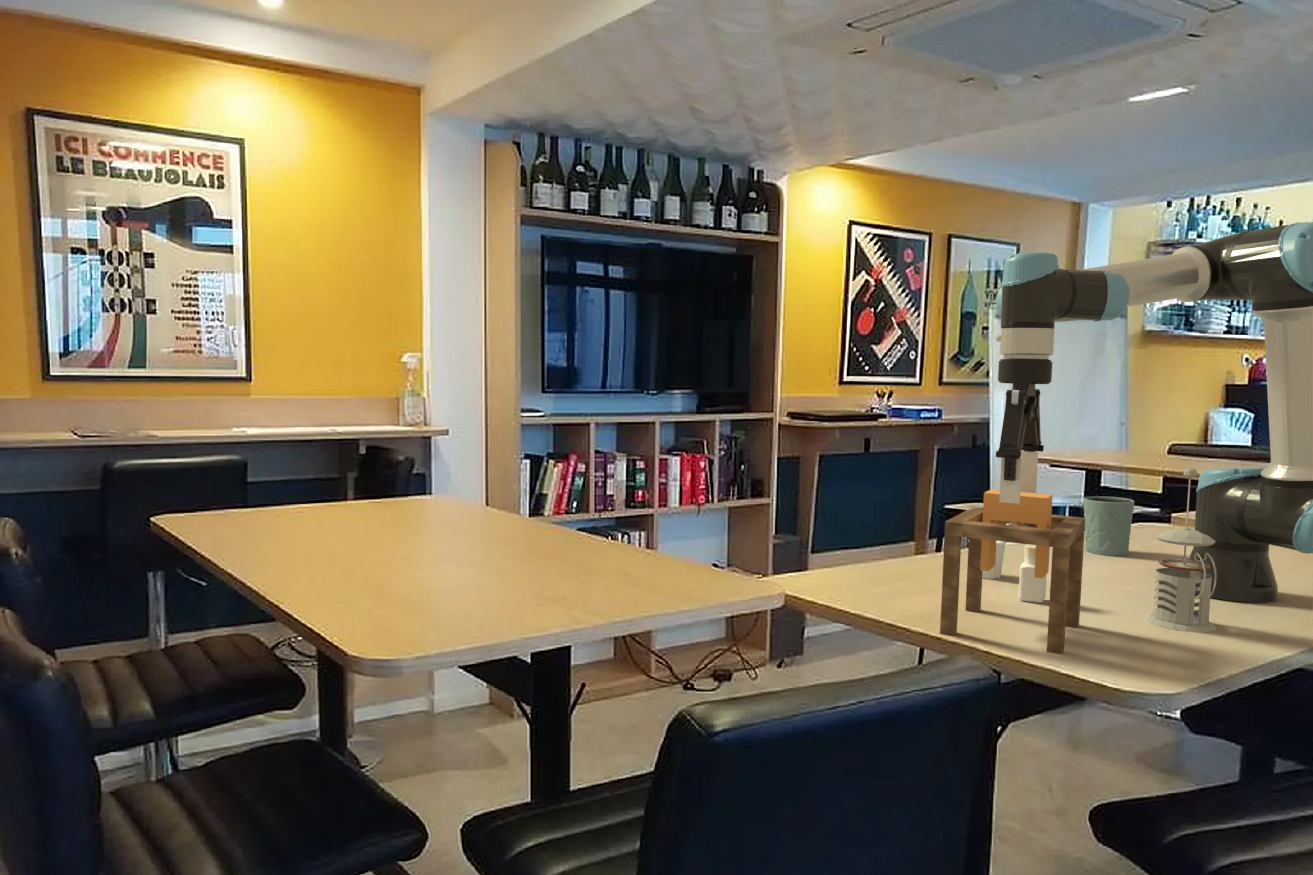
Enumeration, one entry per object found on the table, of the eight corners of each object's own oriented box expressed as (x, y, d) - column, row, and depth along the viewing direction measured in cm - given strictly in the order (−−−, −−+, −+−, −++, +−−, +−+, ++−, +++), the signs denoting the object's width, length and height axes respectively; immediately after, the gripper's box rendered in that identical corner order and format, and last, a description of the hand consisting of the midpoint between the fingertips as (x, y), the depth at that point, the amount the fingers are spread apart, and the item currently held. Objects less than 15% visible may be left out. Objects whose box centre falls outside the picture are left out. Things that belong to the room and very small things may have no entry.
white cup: (1006, 580, 174) (1008, 544, 173) (969, 578, 175) (970, 542, 174) (1000, 573, 180) (1002, 537, 180) (964, 570, 182) (966, 535, 181)
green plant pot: (1139, 557, 198) (1143, 502, 197) (1092, 556, 199) (1096, 501, 198) (1117, 548, 209) (1120, 496, 208) (1072, 547, 209) (1075, 495, 208)
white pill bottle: (1042, 604, 156) (1045, 549, 156) (1017, 601, 158) (1020, 546, 158) (1045, 599, 160) (1048, 545, 159) (1021, 596, 162) (1023, 543, 161)
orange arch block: (1048, 572, 140) (1052, 494, 139) (1042, 578, 136) (1047, 498, 135) (987, 564, 145) (991, 489, 144) (980, 570, 141) (983, 492, 140)
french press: (1191, 615, 151) (1201, 465, 149) (1238, 636, 140) (1250, 473, 138) (1133, 614, 151) (1142, 464, 149) (1175, 635, 139) (1186, 472, 138)
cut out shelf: (1079, 624, 144) (1085, 517, 143) (1062, 653, 129) (1068, 534, 128) (968, 607, 153) (973, 507, 152) (939, 633, 138) (945, 521, 137)
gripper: (1015, 358, 150) (1008, 486, 152) (981, 355, 129) (974, 504, 131) (1064, 359, 146) (1057, 490, 148) (1037, 356, 125) (1029, 510, 127)
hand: (1018, 497), depth 139 cm, fingers open, 13 cm apart
